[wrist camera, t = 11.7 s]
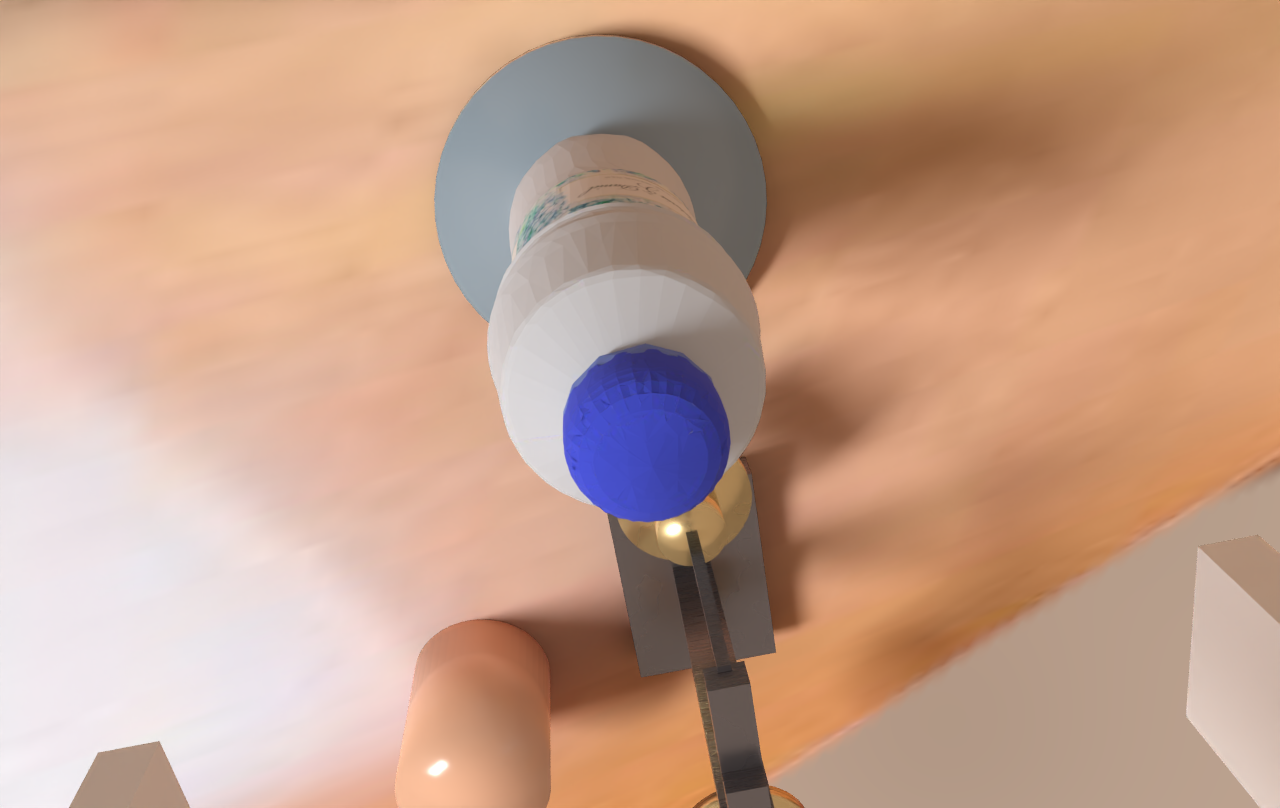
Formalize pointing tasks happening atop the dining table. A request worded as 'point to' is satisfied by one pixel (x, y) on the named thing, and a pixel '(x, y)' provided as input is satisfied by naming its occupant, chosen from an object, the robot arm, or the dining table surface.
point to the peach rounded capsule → (477, 721)
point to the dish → (585, 105)
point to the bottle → (622, 334)
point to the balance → (707, 623)
